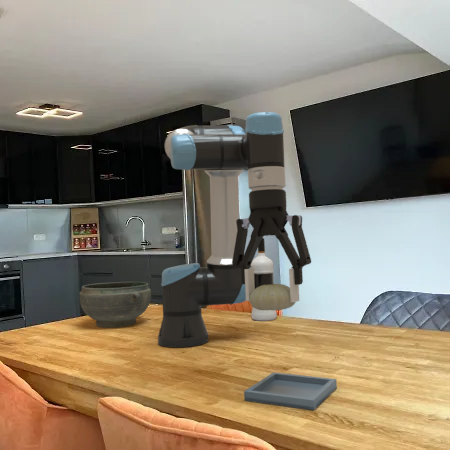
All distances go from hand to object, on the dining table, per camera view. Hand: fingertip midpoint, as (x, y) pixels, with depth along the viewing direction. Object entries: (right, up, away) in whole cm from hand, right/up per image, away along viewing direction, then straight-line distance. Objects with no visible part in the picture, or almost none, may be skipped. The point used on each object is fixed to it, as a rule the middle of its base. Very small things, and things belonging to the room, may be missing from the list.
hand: (272, 300), depth 102 cm
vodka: (+5, -20, +85) cm, 87 cm away
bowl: (-50, -22, +87) cm, 102 cm away
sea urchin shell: (0, -2, 0) cm, 2 cm away
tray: (+4, -18, -2) cm, 19 cm away
